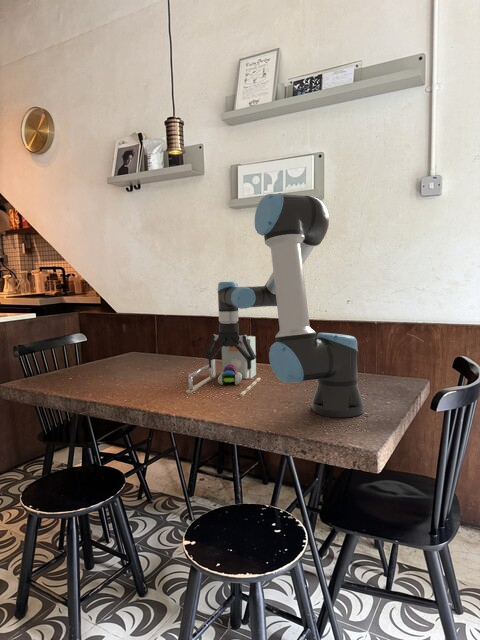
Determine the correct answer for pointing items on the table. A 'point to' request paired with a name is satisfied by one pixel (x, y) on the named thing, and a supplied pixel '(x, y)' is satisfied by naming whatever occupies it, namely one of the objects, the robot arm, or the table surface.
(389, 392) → the table surface
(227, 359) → the cabinet
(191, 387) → the handrail
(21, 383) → the table surface
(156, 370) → the table surface
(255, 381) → the cream square stick
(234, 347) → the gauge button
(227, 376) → the rainbow petal baby toy
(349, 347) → the robot arm
